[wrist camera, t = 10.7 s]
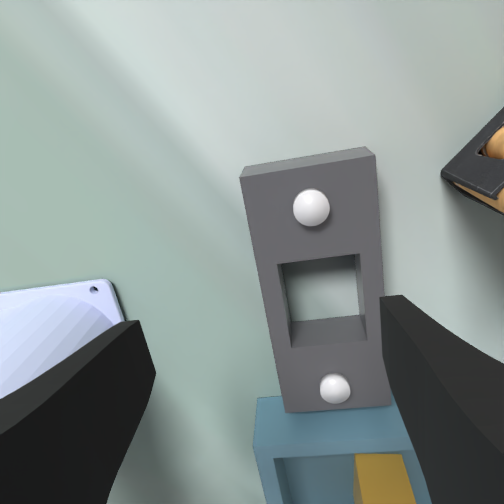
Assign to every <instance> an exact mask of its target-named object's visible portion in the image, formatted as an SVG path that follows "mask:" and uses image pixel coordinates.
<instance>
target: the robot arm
mask: <svg viewBox="0 0 504 504" xmlns="http://www.w3.org/2000/svg"><path fill="white" fill-rule="evenodd" d="M93 286H95V287H96V288H97V289H98V291H96V290H94V289H93ZM379 301H380V320H381V339H382V357H383V361H384V365H385V369H386V373H387V377H388V381H389V385H390V388H391V391H392V394H393V396H394V399H395V402H396V404H397V407H398V409H399V412H400V415H401V417H402V420H403V422H404V425H405V427H406V430H407V432H408V435H409V438H410V440H411V443H412V445H413V448H414V450H415V453H416V456H417V458H418V461H419V463H420V466H421V469H422V472H423V475H424V478H425V481H426V485H427V488H428V492H429V495H430V499H431V503H432V504H504V364H503V363H501V362H500V361H498V360H496V359H494V358H492V357H490V356H488V355H487V354H485V353H483V352H482V351H480V350H478V349H477V348H475V347H473V346H472V345H470V344H469V343H467V342H465V341H464V340H462V339H461V338H459V337H458V336H456V335H455V334H453V333H452V332H450V331H449V330H447V329H446V328H445V327H443V326H442V325H440V324H439V323H438V322H436V321H435V320H434V319H432V318H431V317H430V316H428V315H427V314H426V313H424V312H423V311H422V310H421V309H419V308H418V307H417V306H415V305H414V304H413V303H412V302H410V301H409V300H408V299H407V298H405V297H404V296H403V295H395V296H384V297H379ZM155 376H156V371H155V368H154V365H153V362H152V358H151V355H150V352H149V349H148V346H147V343H146V340H145V337H144V334H143V331H142V328H141V324H140V321H139V320H133V321H125V320H124V317H123V314H122V312H121V309H120V306H119V303H118V300H117V297H116V295H115V292H114V289H113V286H112V284H111V282H109V281H108V280H106V279H98V280H90V281H83V282H75V283H68V284H60V285H53V286H45V287H38V288H30V289H23V290H15V291H8V292H0V504H106V503H107V500H108V497H109V494H110V491H111V488H112V485H113V483H114V480H115V478H116V475H117V472H118V470H119V468H120V466H121V463H122V461H123V459H124V457H125V454H126V452H127V450H128V448H129V445H130V443H131V441H132V439H133V436H134V434H135V432H136V430H137V427H138V425H139V423H140V420H141V418H142V416H143V413H144V411H145V409H146V406H147V404H148V401H149V398H150V394H151V391H152V387H153V383H154V380H155Z"/></svg>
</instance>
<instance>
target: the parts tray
mask: <svg viewBox="0 0 504 504" xmlns="http://www.w3.org/2000/svg"><path fill="white" fill-rule="evenodd" d="M390 389H391V388H390ZM253 449H254V453H255V457H256V462H257V466H258V470H259V474H260V478H261V482H262V486H263V490H264V494H265V498H266V502H267V504H355V503H354V497H353V483H354V453H360V454H401V455H402V458H403V461H404V465H405V468H406V471H407V474H408V478H409V481H410V484H411V488H412V491H413V494H414V497H415V501H416V504H432V503H431V499H430V495H429V492H428V488H427V485H426V481H425V478H424V475H423V472H422V469H421V466H420V463H419V461H418V458H417V456H416V453H415V450H414V448H413V445H412V443H411V440H410V438H409V435H408V432H407V430H406V427H405V425H404V422H403V420H402V417H401V415H400V412H399V409H398V407H397V404H396V402H395V399H394V396H393V394H392V391H391V405H388V406H375V407H361V408H348V409H335V410H321V411H308V412H294V413H285V409H284V404H283V399H282V396H277V397H265V398H258V399H257V409H256V419H255V430H254V440H253Z"/></svg>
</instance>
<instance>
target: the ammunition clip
mask: <svg viewBox="0 0 504 504" xmlns="http://www.w3.org/2000/svg"><path fill="white" fill-rule="evenodd" d="M441 176H442V177H443V178H445V179H446V180H447V181H448V182H449V183H450V184H451V185H453V186H454V187H455V188H456V189H457V190H458V191H459V192H461V193H462V194H463V195H464V196H466V197H468V198H470V199H472V200H474V201H476V202H478V203H480V204H482V205H484V206H486V207H488V208H490V209H492V210H494V211H496V212H498V213H500V214H502V215H504V107H503V108H502V109H501V110H500V111H499V112H498V113H497V114H496V115H495V116H494V117H493V118H492V119H491V120H490V121H489V122H488V123H487V124H486V125H485V126H484V127H483V129H482V130H481V131H480V132H479V133H478V134H477V135H476V136H475V137H474V138H473V139H472V140H471V141H470V142H469V143H468V144H467V145H466V146H465V147H464V148H463V149H462V150H461V151H460V152H459V153H458V154H457V155H456V156H455V157H454V158H453V159H452V160H451V161H450V162H449V163H448V164H447V165H446V166H445V167H444V168H443V169H442V170H441Z"/></svg>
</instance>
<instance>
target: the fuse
mask: <svg viewBox="0 0 504 504" xmlns="http://www.w3.org/2000/svg"><path fill="white" fill-rule="evenodd" d="M353 497H354V503H355V504H416V501H415V497H414V494H413V491H412V488H411V484H410V481H409V478H408V474H407V471H406V468H405V465H404V461H403V458H402V455H401V454H360V453H354V483H353Z"/></svg>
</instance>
